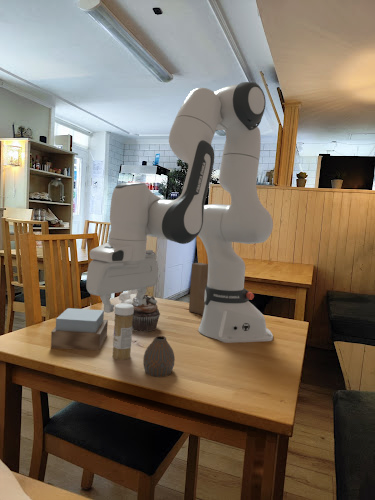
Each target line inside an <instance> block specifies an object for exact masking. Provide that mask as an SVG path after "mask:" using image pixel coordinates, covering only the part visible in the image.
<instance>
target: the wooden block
mask: <svg viewBox="0 0 375 500" xmlns="http://www.w3.org/2000/svg"><path fill="white" fill-rule="evenodd" d="M207 282H208V263H203V262H194V263H193V262H192V264H191V276H190V289H189V290H190V291H189V303H188V305H189V306H188V311H189V312H192V313H195V314H198V315H201V316H203V313H204V308H205V302H204V296H205V289H206V285H207Z"/></svg>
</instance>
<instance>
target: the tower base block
mask: <svg viewBox="0 0 375 500" xmlns="http://www.w3.org/2000/svg"><path fill="white" fill-rule="evenodd" d="M108 321H109V320H108V319H103V322H102V324H101V325H100V327H99V328H98V330H97V331H96V333H92V332H76V331H60V330H56V326H55V327H54V328H52V330H51V332H50V333H51V334H50V338H51V339H50V349H63V350H64V349H66V350H67V349H68V350H70V349H71V350H98V351H99V350H101V347H102V346H103V343H104V341H105V339H106V338H107V335H108V323H109V322H108Z"/></svg>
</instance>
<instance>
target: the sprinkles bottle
mask: <svg viewBox="0 0 375 500" xmlns="http://www.w3.org/2000/svg"><path fill="white" fill-rule="evenodd" d="M113 312H114V328H113V339H112V340H113V341H112V342H113V343H112V346H113V347H112V356H111V357H112V358H113V359H114V360H118V361H123V360H124V361H125V360H128V359H130V358H131V348H132V338H133V337H132V336H133V330H132V319H133V313H134V306H133V305H131V304H127V303H121V302H120V303H117V304H114V311H113Z"/></svg>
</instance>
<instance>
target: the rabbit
mask: <svg viewBox="0 0 375 500" xmlns="http://www.w3.org/2000/svg"><path fill="white" fill-rule="evenodd" d="M137 292H138V291H137V289H135V290H129V291H123V292H120V294H119V295H118V300H119V301H121V302H120V303H127V304H131V305H132V303H133V302H134V301H133V299H132V297H131V295H133V294H137Z"/></svg>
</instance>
